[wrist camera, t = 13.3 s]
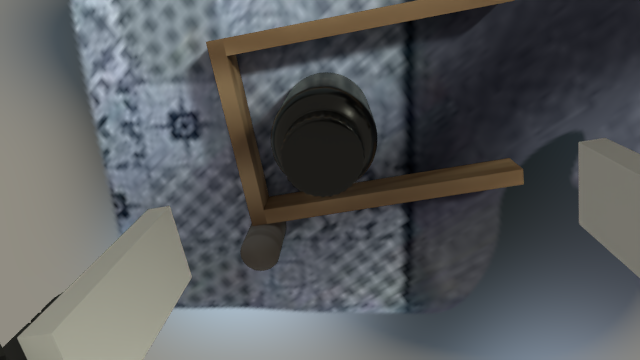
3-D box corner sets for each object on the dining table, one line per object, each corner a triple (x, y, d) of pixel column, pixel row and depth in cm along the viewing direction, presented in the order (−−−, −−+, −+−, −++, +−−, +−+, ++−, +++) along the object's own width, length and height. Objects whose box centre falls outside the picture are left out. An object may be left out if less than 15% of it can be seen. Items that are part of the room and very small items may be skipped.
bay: (205, 42, 36) (184, 45, 31) (499, -16, 34) (525, -22, 29) (256, 244, 41) (245, 273, 36) (512, 205, 39) (535, 231, 34)
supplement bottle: (271, 134, 38) (241, 183, 27) (305, 56, 36) (288, 73, 24) (347, 169, 39) (349, 231, 27) (385, 94, 36) (405, 128, 25)
